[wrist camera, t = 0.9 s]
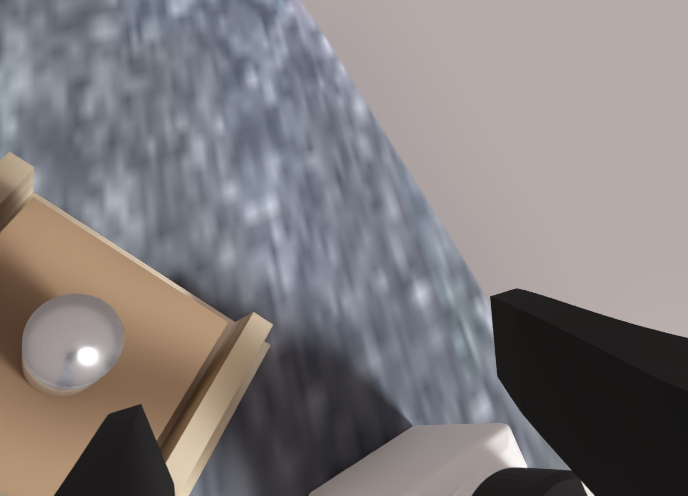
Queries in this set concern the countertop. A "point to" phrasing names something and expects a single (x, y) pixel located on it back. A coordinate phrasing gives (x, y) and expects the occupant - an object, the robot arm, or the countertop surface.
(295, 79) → the countertop surface
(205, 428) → the bay
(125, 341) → the block with knob
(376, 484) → the medicine bottle
